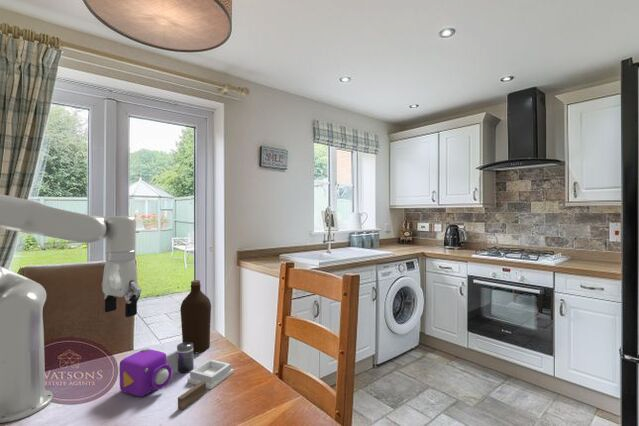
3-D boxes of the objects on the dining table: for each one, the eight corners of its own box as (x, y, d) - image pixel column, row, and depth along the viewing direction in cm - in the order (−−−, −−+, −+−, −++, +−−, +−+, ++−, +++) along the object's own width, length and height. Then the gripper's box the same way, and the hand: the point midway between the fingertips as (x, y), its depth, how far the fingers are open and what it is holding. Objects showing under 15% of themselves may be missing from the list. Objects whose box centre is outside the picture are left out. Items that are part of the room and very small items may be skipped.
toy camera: (156, 402, 85) (155, 365, 85) (112, 396, 88) (112, 361, 88) (181, 380, 96) (180, 348, 96) (141, 376, 99) (141, 344, 99)
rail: (177, 409, 83) (177, 397, 83) (201, 391, 90) (201, 381, 90) (182, 410, 82) (182, 398, 82) (205, 392, 90) (205, 382, 90)
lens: (173, 371, 101) (173, 346, 101) (185, 364, 106) (185, 340, 106) (185, 374, 99) (184, 349, 99) (197, 367, 104) (196, 343, 104)
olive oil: (205, 354, 113) (204, 284, 112) (175, 354, 113) (174, 284, 113) (215, 342, 124) (214, 277, 123) (188, 341, 124) (187, 277, 123)
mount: (187, 382, 95) (187, 372, 95) (211, 366, 104) (211, 357, 104) (211, 389, 92) (210, 378, 91) (233, 372, 101) (233, 363, 101)
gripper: (90, 256, 96) (90, 312, 96) (127, 260, 89) (126, 321, 89) (115, 253, 103) (115, 306, 103) (151, 257, 96) (151, 314, 96)
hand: (120, 313), depth 96 cm, fingers open, 9 cm apart
